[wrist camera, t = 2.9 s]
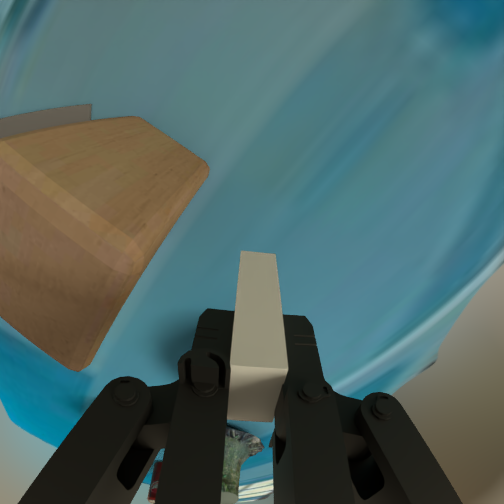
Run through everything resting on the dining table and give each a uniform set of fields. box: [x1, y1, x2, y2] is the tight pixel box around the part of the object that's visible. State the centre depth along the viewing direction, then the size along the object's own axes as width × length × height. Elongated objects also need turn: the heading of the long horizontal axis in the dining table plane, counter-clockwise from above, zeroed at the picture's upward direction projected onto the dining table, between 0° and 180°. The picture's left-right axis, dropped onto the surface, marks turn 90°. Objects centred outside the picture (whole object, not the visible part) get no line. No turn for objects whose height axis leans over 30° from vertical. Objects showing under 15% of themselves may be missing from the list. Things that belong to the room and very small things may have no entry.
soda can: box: [148, 461, 162, 504], centre depth 54 cm, size 7×7×12 cm
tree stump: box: [221, 425, 264, 504], centre depth 44 cm, size 18×20×18 cm
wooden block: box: [0, 116, 210, 372], centre depth 20 cm, size 10×10×20 cm
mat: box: [0, 104, 91, 138], centre depth 28 cm, size 16×16×1 cm
